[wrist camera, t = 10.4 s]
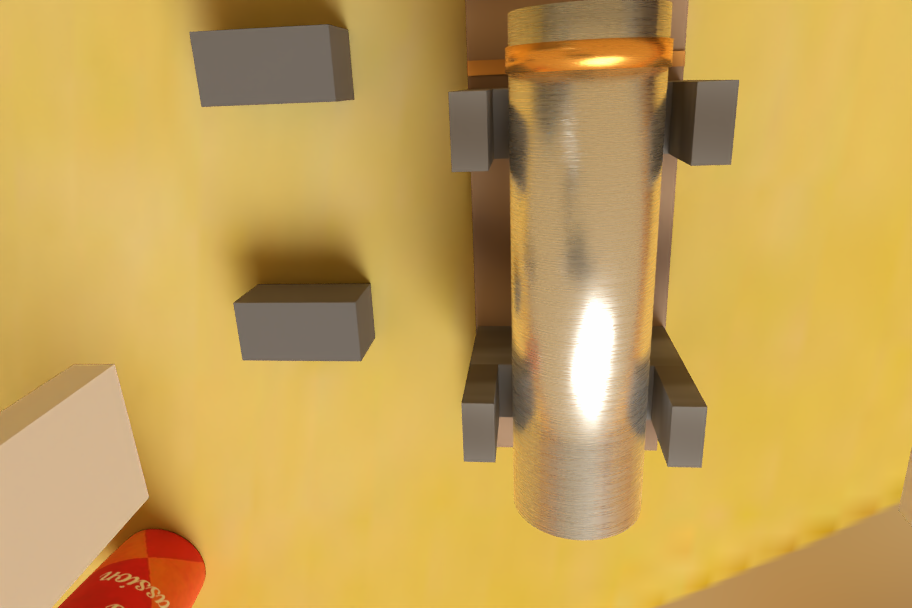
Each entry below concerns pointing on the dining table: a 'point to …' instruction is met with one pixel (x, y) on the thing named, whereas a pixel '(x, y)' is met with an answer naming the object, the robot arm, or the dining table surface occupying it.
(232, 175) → the dining table surface
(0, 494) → the robot arm
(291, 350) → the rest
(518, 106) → the silver metal cylinder
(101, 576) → the paper cup
